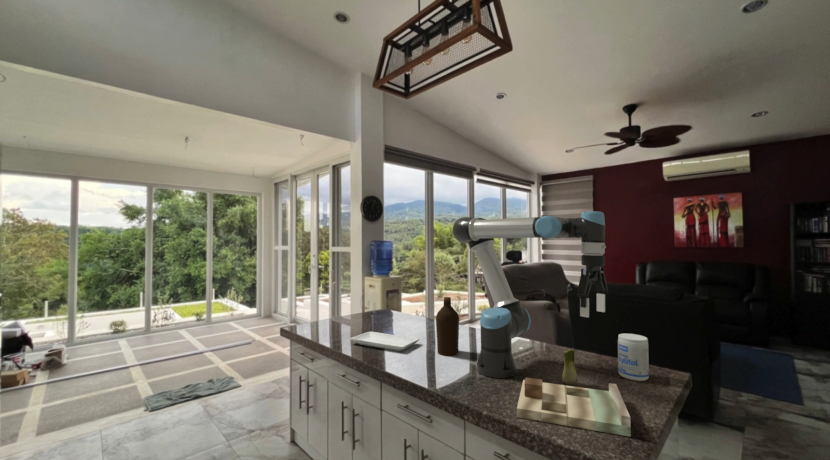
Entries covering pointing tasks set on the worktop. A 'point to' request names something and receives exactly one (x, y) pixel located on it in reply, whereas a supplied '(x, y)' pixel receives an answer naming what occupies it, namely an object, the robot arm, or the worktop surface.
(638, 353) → the supplement tub
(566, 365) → the fennel bulb
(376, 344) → the tray
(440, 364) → the worktop surface
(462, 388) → the worktop surface
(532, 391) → the block
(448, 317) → the olive oil
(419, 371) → the worktop surface
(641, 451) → the worktop surface
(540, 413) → the board
